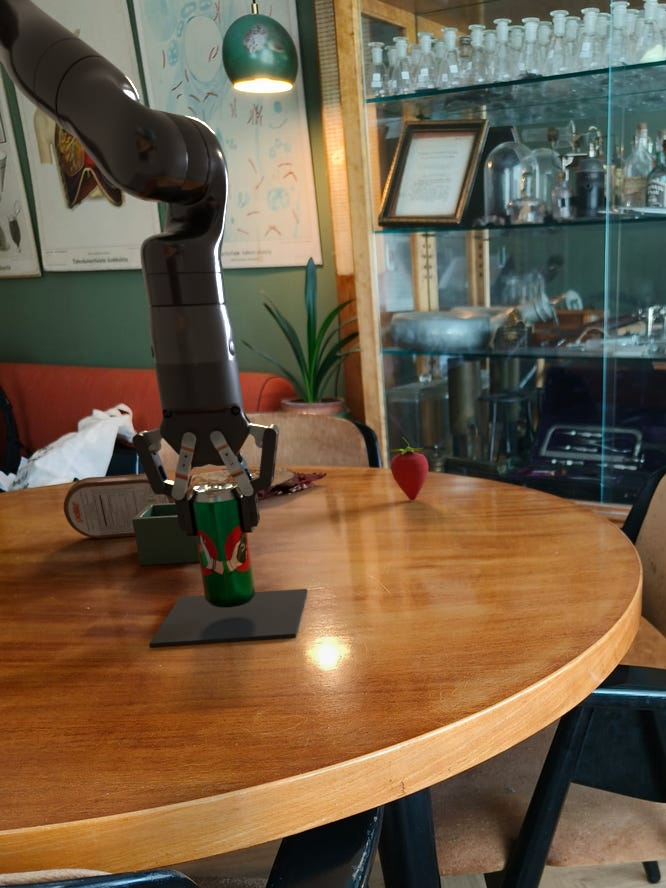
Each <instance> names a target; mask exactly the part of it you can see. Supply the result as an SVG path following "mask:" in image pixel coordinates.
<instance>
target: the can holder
mask: <svg viewBox="0 0 666 888" xmlns="http://www.w3.org/2000/svg"><path fill="white" fill-rule="evenodd" d="M132 523H133V528H134V533H135V536H134V539H135V544H136V550H137V555H138V559H139V564H140V566H155V565H171V564H187V563H189V564H190V563H200V561H199V554H198V548H197V542H196V535H195V536H187V534H186V531H181V529H180V527H179V524H178V518H177V512H176V505H175V503H164V504H148V505H147V506H146V507H145V508H144V509H143V510H142V511H140V512H139V513H138V514H137V515H136V516H135V517H134V518H133V519H132Z"/></svg>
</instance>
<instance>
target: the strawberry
mask: <svg viewBox="0 0 666 888" xmlns="http://www.w3.org/2000/svg"><path fill="white" fill-rule="evenodd" d="M401 438H402V439H403V440H404V441H405V442H406V443H407V447H405V448H404V449H403V448H396V449H389V452H391V453H392V452H394V453H398V454H396V455H394V456H393V457H392V459H391V460H390V471H391V474H392V477H393V480H394V481H395V483H396V484H397V486H398V487H399V488H400V490H401V491H402V492H403V493H404V494H405V496H406V497H407V498H408V499H409V501H413V502H414V501H415V500H417V498H418V496H419V494H420V492H421V490H422V489H423V487H424V484H425V483H426V480H427V478H428V472H429V463H428V459H427V458H426V457H425V456H424V454H421V453H423V449H424V447H415V448H413V447H410V443H409V441H408V440H406V439H405V438H404V436H401Z"/></svg>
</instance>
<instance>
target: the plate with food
mask: <svg viewBox="0 0 666 888" xmlns="http://www.w3.org/2000/svg"><path fill="white" fill-rule="evenodd" d="M248 469H249V471H250V473H251V475H252V476H253V478H255V477H257V476H259V473H260V466H258V467H257V466H254V467H251V466H248ZM326 476H327V472H325V473H323V472H319V473H316V472H312V473H304V472H299V471H298V472H296V471H292V469H287V468H282V467H278V468H275V473H274V480H273V482H272V484H271V486H270V487H269V488H268V489H263V490H261V491H259V492H258V493H257V498H258V504H259V503H260V500H261V499H264V498H267V497H272V496H274V495H275V494H276V495H281V494H283V492H282V491H281V490H275V491H272V489H273V488H275V487H277V486H278V485H279V486H280V485H282V484H284V483H286V482H287V483H288V482H291V484H290V485H291V486H293V487H291V488H290V489H289V490H288V491H289V492H290V493H288V495H292V493H293V495H295V492H296V491H302V490H305V489H308V488H312V487H314V485H315V482H316V481H317V482H318V481H320V480H322V479H324V477H326ZM171 481H175V479H172V480H171ZM209 483H234V484H237V483H236V481H235V480H234V478H233V477H232V476H231V475H230V473H229V471H228V469H227V468H222V469H221V470H215V471H207V472H198V473H197V474H193V477H192V481H191V486H190V490H189V493H190V496H192V495H193V493H194V492H193V488H194V487H196V486H199V485H203V484H209ZM237 486H238V485H237ZM237 489H238V490H239V492H240V493H241V491H240V489H239V487H238V488H237ZM241 494H242V493H241Z"/></svg>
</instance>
